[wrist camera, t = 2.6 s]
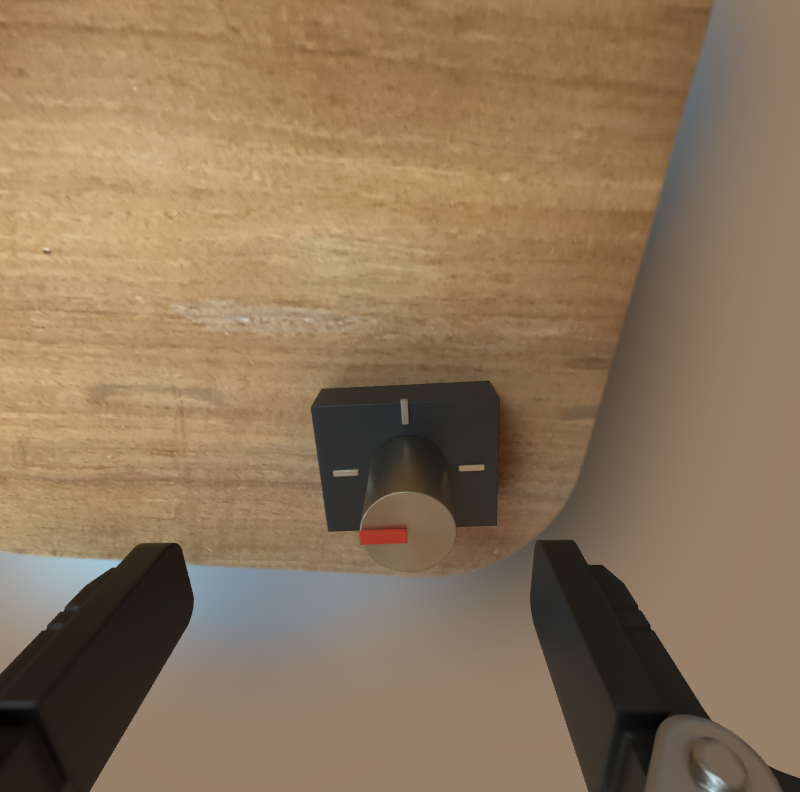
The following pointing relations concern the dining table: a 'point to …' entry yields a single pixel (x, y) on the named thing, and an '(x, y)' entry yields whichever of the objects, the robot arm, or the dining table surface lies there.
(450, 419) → the panel
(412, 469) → the knob
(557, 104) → the dining table surface
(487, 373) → the dining table surface
